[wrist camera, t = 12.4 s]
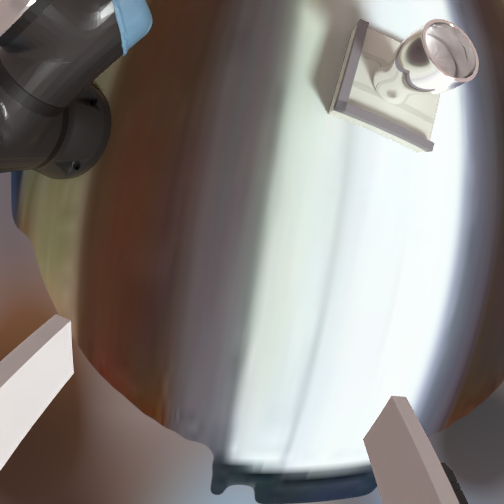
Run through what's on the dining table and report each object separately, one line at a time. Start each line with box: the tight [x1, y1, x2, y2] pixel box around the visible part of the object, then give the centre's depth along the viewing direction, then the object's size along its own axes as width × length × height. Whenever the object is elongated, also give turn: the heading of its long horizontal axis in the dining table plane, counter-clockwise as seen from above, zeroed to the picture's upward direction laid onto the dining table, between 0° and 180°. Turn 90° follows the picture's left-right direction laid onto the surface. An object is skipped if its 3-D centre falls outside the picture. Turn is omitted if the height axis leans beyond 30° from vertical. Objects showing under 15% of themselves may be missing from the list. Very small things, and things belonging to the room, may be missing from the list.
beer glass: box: [373, 19, 479, 105], centre depth 26 cm, size 7×7×15 cm
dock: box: [328, 19, 440, 152], centre depth 34 cm, size 14×14×4 cm
